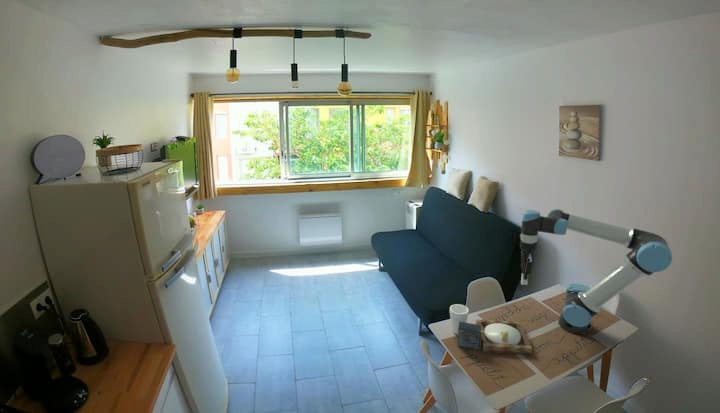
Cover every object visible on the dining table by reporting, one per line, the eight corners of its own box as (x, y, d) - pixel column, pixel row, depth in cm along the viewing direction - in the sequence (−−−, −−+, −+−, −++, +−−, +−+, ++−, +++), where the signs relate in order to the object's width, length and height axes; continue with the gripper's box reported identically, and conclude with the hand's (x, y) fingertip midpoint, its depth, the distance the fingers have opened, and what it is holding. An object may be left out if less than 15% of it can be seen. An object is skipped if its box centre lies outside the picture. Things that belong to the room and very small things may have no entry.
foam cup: (467, 337, 189) (469, 314, 186) (449, 335, 191) (450, 313, 188) (466, 326, 198) (467, 304, 195) (448, 324, 200) (449, 303, 196)
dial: (482, 325, 196) (483, 314, 194) (516, 328, 193) (517, 317, 191) (486, 345, 180) (487, 334, 178) (524, 349, 177) (525, 337, 175)
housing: (518, 327, 196) (519, 320, 195) (531, 354, 175) (532, 347, 174) (475, 325, 199) (476, 318, 198) (483, 352, 178) (483, 345, 177)
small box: (480, 342, 185) (481, 324, 182) (479, 350, 179) (481, 332, 176) (458, 339, 188) (459, 320, 185) (457, 346, 182) (458, 328, 180)
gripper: (517, 236, 191) (513, 277, 198) (524, 246, 179) (519, 290, 185) (532, 236, 190) (527, 278, 197) (540, 246, 178) (535, 290, 184)
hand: (524, 284), depth 191 cm, fingers closed
